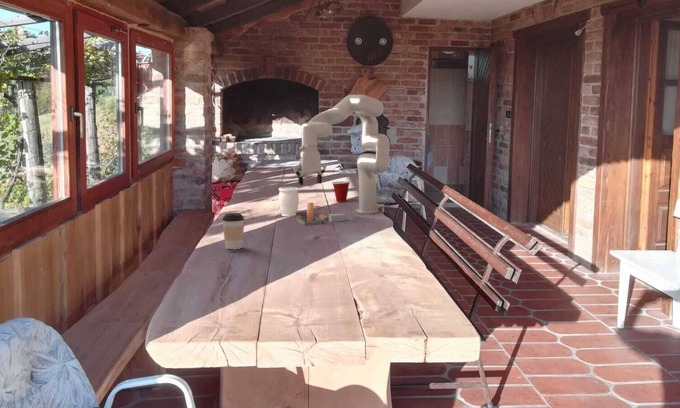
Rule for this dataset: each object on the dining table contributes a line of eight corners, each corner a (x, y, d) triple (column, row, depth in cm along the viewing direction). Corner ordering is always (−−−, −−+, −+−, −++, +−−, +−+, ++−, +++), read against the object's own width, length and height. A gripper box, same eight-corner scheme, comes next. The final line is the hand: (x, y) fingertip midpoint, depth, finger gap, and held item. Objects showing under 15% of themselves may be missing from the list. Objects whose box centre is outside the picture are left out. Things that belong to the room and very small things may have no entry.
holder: (308, 219, 347) (308, 213, 347) (315, 221, 340) (315, 216, 340) (294, 220, 344) (294, 214, 343) (300, 223, 337) (300, 217, 336)
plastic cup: (338, 199, 407) (338, 179, 405) (353, 201, 401) (353, 181, 399) (328, 201, 398) (328, 181, 396) (343, 203, 392) (343, 183, 390)
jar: (296, 218, 348) (295, 189, 346) (276, 218, 351) (276, 189, 348) (301, 214, 359) (300, 186, 356) (282, 214, 361) (282, 186, 358)
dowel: (312, 222, 336) (311, 202, 334) (314, 223, 333) (314, 203, 331) (306, 222, 334) (305, 202, 332) (308, 223, 331) (308, 203, 330)
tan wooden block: (333, 219, 349) (333, 213, 348) (339, 222, 341) (339, 216, 341) (319, 220, 346) (319, 214, 345) (324, 223, 339) (324, 217, 338)
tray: (315, 222, 340) (315, 217, 339) (323, 225, 332) (323, 220, 331) (297, 223, 335) (297, 219, 335) (304, 227, 327) (304, 222, 327)
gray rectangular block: (342, 221, 342) (342, 213, 341) (345, 222, 339) (345, 214, 338) (328, 222, 338) (328, 214, 337) (331, 223, 335) (331, 215, 335)
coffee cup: (224, 246, 290) (223, 211, 287) (245, 245, 291) (244, 211, 288) (222, 251, 281) (221, 215, 278) (244, 250, 282) (243, 215, 279)
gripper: (296, 150, 320) (297, 186, 323) (329, 148, 328) (329, 183, 331) (290, 149, 327) (290, 184, 330) (322, 147, 334) (322, 181, 338)
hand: (310, 183), depth 330 cm, fingers open, 9 cm apart
